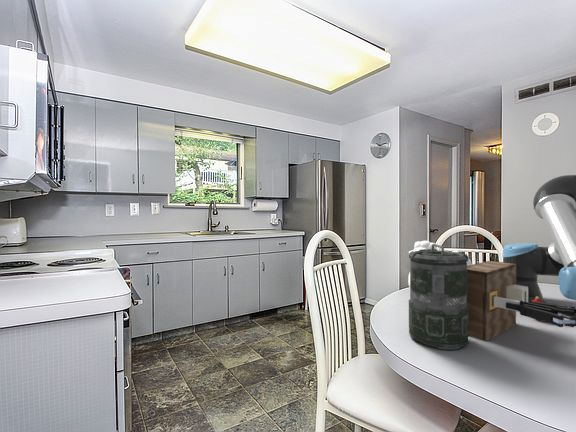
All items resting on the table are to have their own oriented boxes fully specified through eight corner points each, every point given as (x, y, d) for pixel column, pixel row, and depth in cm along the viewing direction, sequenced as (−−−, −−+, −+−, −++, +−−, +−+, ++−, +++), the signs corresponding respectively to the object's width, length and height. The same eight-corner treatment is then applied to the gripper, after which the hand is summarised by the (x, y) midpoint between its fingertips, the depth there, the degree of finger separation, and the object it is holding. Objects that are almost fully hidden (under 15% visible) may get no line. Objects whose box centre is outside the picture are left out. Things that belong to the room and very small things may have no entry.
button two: (479, 303, 97) (479, 286, 97) (498, 307, 93) (498, 290, 92) (471, 306, 94) (471, 289, 94) (490, 310, 90) (490, 293, 89)
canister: (401, 328, 98) (401, 242, 98) (451, 328, 98) (451, 241, 97) (421, 351, 83) (421, 248, 82) (480, 351, 82) (481, 248, 81)
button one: (509, 299, 100) (509, 283, 100) (528, 303, 96) (529, 286, 96) (503, 302, 97) (503, 286, 97) (522, 306, 93) (522, 289, 93)
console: (489, 317, 108) (489, 260, 107) (515, 324, 101) (516, 263, 101) (458, 332, 95) (458, 268, 94) (486, 341, 88) (486, 272, 88)
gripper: (603, 348, 68) (485, 318, 87) (613, 334, 75) (503, 309, 95) (603, 314, 68) (485, 292, 87) (614, 303, 75) (503, 285, 94)
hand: (494, 301), depth 91 cm, fingers closed
